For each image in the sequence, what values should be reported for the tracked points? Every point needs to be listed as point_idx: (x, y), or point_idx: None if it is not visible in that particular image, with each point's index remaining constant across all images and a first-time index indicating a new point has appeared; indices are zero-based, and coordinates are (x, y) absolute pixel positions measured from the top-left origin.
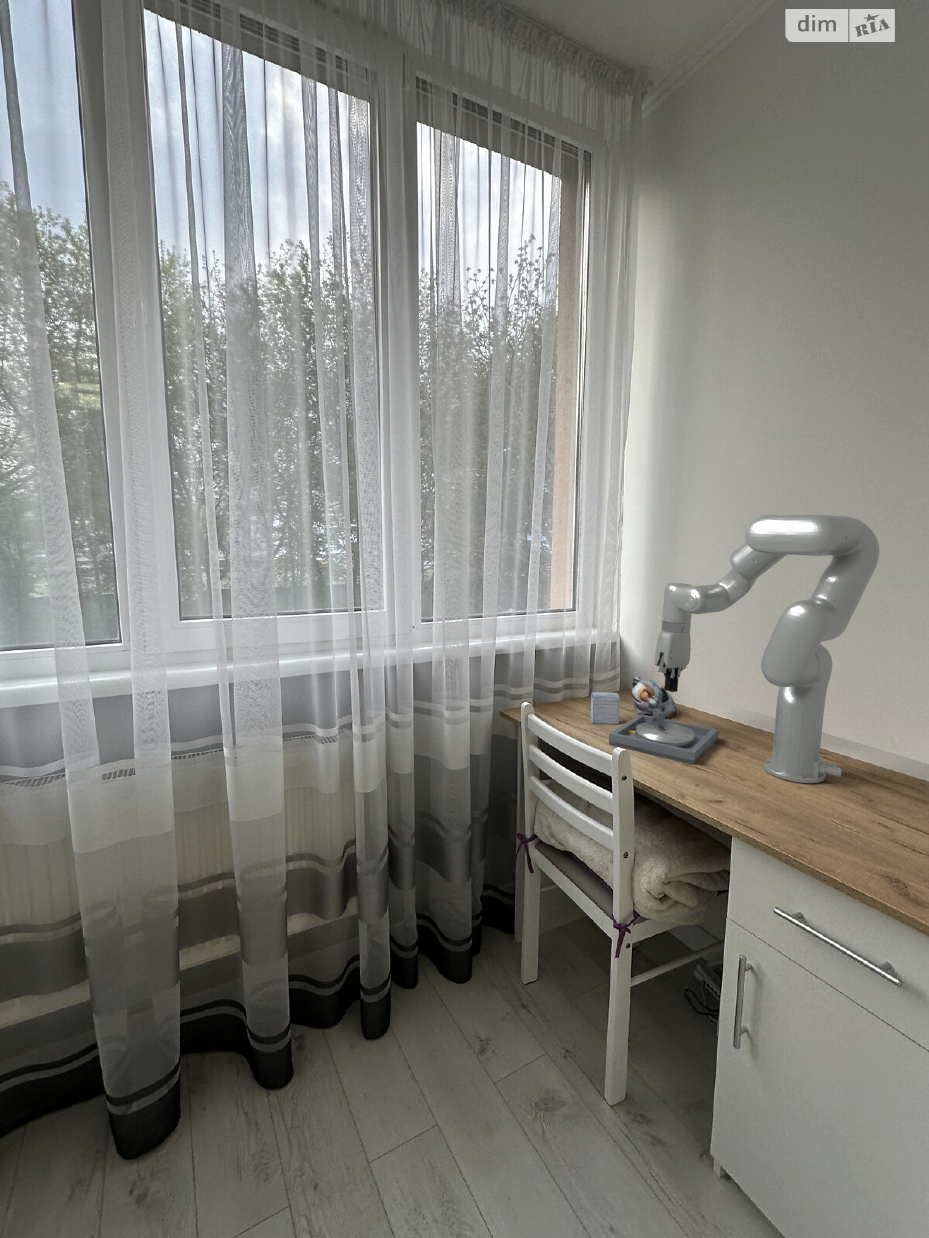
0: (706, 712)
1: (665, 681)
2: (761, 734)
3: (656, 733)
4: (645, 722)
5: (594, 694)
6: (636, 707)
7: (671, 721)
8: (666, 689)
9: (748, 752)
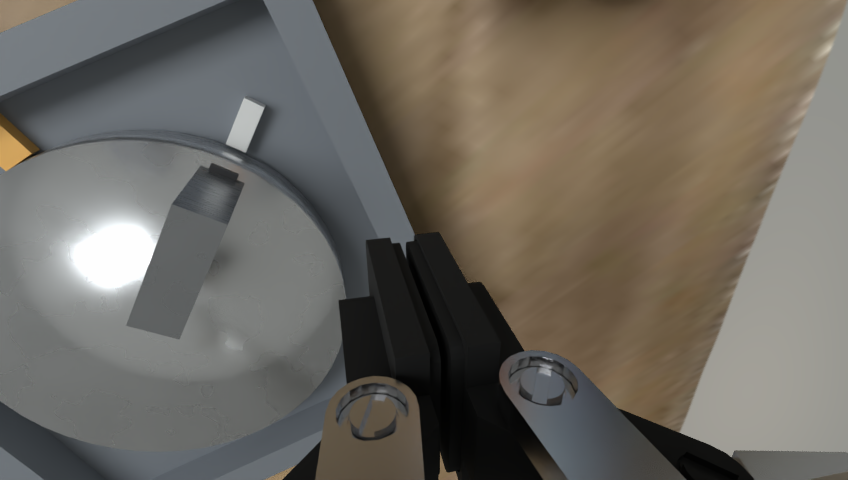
0: (837, 22)
1: (381, 306)
2: (665, 355)
3: (64, 343)
4: (138, 146)
5: None
6: None
7: (368, 193)
8: (368, 268)
9: (440, 461)
